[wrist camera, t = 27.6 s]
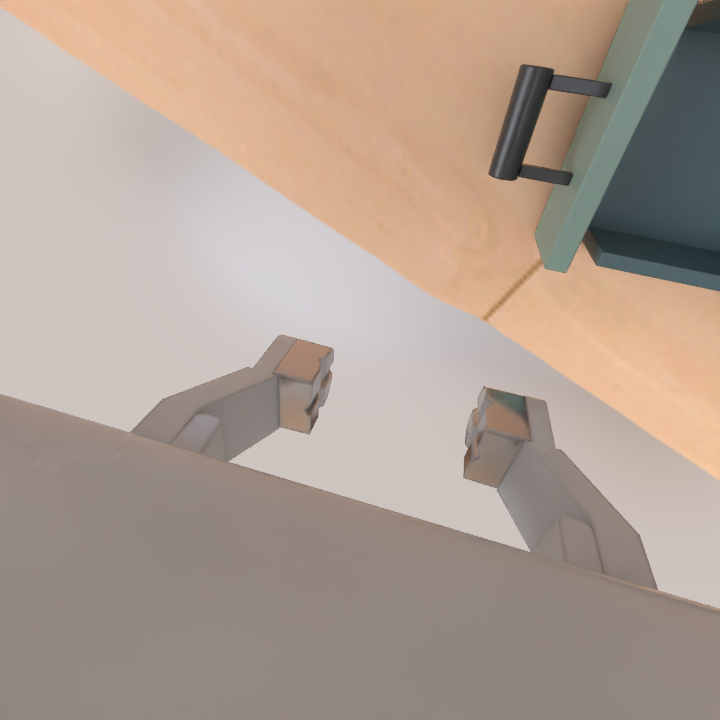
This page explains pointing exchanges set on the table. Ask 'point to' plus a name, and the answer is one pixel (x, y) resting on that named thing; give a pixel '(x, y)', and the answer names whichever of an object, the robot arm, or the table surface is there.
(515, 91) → the drawer
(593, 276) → the table surface
